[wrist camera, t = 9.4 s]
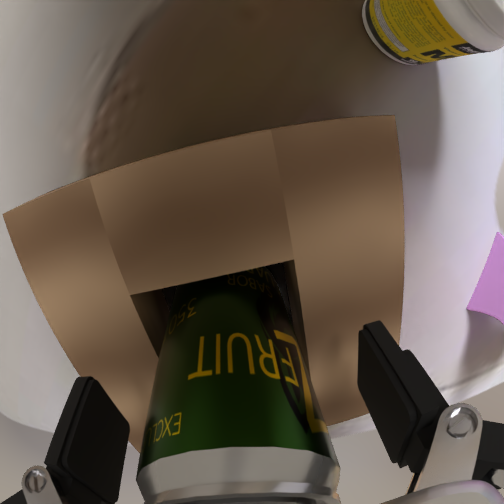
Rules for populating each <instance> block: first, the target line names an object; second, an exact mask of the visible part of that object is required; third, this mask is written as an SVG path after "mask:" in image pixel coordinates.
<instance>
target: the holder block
mask: <svg viewBox="0 0 504 504" xmlns="http://www.w3.org/2000/svg"><path fill="white" fill-rule="evenodd" d="M3 217H4V220H5V223H6V226H7V229H8V232H9V235H10V238H11V240H12V243H13V246H14V248H15V251H16V254H17V256H18V259H19V261H20V264H21V266H22V268H23V271H24V273H25V275H26V278H27V280H28V282H29V284H30V287H31V289H32V291H33V293H34V295H35V297H36V299H37V301H38V304H39V306H40V308H41V310H42V312H43V313H44V315H45V317H46V319H47V321H48V323H49V325H50V327H51V329H52V330H53V332H54V334H55V336H56V338H57V339H58V341H59V343H60V344H61V346H62V348H63V350H64V351H65V353H66V355H67V356H68V358H69V359H70V361H71V363H72V364H73V366H74V367H75V369H76V371H77V372H78V374H79V375H80V377H85V376H92V377H93V378H94V379H95V380H98V381H99V383H100V384H101V386H102V387H103V389H104V390H105V391H106V393H107V394H108V396H109V397H110V398H111V400H112V401H113V403H114V404H115V405H116V407H117V408H118V409H119V411H120V412H121V413H122V415H123V416H124V417H125V418H126V420H127V421H128V423H129V425H130V433H129V438H128V440H129V442H130V443H131V444H132V445H133V446H134V447H135V449H136V450H137V451H138V452H139V453H140V452H141V446H142V440H143V434H144V429H145V423H146V418H147V413H148V408H149V403H150V398H151V393H152V388H153V383H154V379H155V374H156V370H157V365H158V361H159V356H160V352H161V347H162V343H163V339H164V335H165V331H166V327H167V322H168V318H169V314H170V310H169V307H168V305H167V302H166V300H165V297H164V294H163V292H162V288H166V287H171V286H176V285H180V284H185V283H190V282H194V281H199V280H204V279H208V278H213V277H217V276H222V275H227V274H231V273H236V272H240V271H245V270H249V269H254V268H258V267H263V266H267V265H271V264H276V263H280V262H283V266H284V272H285V278H286V283H287V289H288V295H289V301H290V307H291V313H292V319H293V326H294V332H295V335H296V338H297V341H298V344H299V347H300V350H301V352H302V355H303V358H304V361H305V364H306V367H307V370H308V373H309V376H310V379H311V382H312V385H313V388H314V391H315V394H316V397H317V400H318V403H319V406H320V409H321V412H322V415H323V418H324V421H325V424H326V426H330V425H333V424H337V423H340V422H344V421H347V420H350V419H353V418H356V417H359V416H362V415H365V414H368V413H369V411H368V409H367V406H366V404H365V402H364V400H363V398H362V396H361V394H360V391H359V389H358V385H357V373H358V333H359V331H360V330H363V325H365V324H368V323H371V322H374V321H378V320H380V321H381V322H382V323H383V324H384V326H385V327H386V329H387V330H388V331H389V333H390V334H391V335H392V337H393V338H394V340H395V341H396V343H397V344H398V345H399V340H400V330H401V319H402V305H403V287H404V205H403V187H402V174H401V163H400V153H399V144H398V136H397V128H396V121H395V115H380V116H360V117H347V118H338V119H330V120H322V121H314V122H307V123H301V124H294V125H288V126H282V127H276V128H270V129H265V130H259V131H254V132H249V133H244V134H239V135H234V136H230V137H225V138H221V139H216V140H212V141H208V142H203V143H199V144H195V145H191V146H187V147H184V148H180V149H176V150H172V151H169V152H165V153H161V154H158V155H154V156H151V157H148V158H144V159H141V160H138V161H134V162H131V163H128V164H125V165H122V166H119V167H116V168H113V169H110V170H107V171H104V172H101V173H98V174H95V175H93V176H90V177H87V178H84V179H82V180H79V181H76V182H74V183H71V184H68V185H66V186H63V187H61V188H58V189H56V190H53V191H51V192H48V193H46V194H44V195H41V196H39V197H37V198H35V199H33V200H31V201H28V202H26V203H24V204H22V205H20V206H18V207H16V208H14V209H12V210H10V211H8V212H6V213H4V214H3Z"/></svg>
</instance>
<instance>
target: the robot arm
mask: <svg viewBox="0 0 504 504" xmlns="http://www.w3.org/2000/svg"><path fill="white" fill-rule="evenodd" d="M357 385H358V389H359V391H360V394H361V396H362V398H363V400H364V402H365V404H366V406H367V409H368V411H369V413H370V415H371V417H372V419H373V422H374V424H375V426H376V428H377V430H378V433H379V435H380V437H381V439H382V441H383V444H384V446H385V448H386V451H387V453H388V455H389V457H390V460H391V461H392V463H396V462H397V463H398V465H399V467H400V468H402V467H404V466H407V465H408V466H409V468H410V471H411V472H413V476H412V478H411V481H410V484H409V486H408V489H407V491H406V493H405V495H404V496H401V497H398V498H396V499H393V500H390V501H387V502H384V503H381V504H504V498H503V496H502V495H501V494H500V492H499V491H498V490H497V489H501V488H503V489H504V424H502V423H496V422H490V421H484V420H482V417H481V414H480V412H479V411H478V410H477V409H476V408H475V407H473V406H472V405H469V404H465V403H457V404H454V405H451V406H449V405H448V404H447V402H446V401H445V399H444V398H443V396H442V395H441V393H440V392H439V390H438V389H437V387H436V386H435V384H434V383H433V381H432V380H431V378H430V377H429V376H428V374H427V373H426V371H425V370H424V368H423V367H422V366H421V364H420V363H419V361H418V360H417V359H416V357H415V356H414V354H413V353H412V352H411V351H410V350H404V351H402V350H401V348H400V347H399V345H398V344H397V343H396V341H395V340H394V338H393V337H392V335H391V334H390V333H389V331H388V330H387V329H386V327H385V326H384V324H383V323H382V322H381V321H380V320H378V321H374V322H371V323H368V324H365V325H363V330H360V331H359V333H358V373H357ZM129 433H130V425H129V423H128V421H127V420H126V418H125V417H124V416H123V415H122V413H121V412H120V411H119V409H118V408H117V407H116V405H115V404H114V403H113V401H112V400H111V398H110V397H109V396H108V394H107V393H106V391H105V390H104V389H103V387H102V386H101V384H100V383H99V381H98V380H95V379H94V378H93V377H92V376H85V377H78V378H77V379H76V380H75V383H74V385H73V387H72V390H71V392H70V394H69V397H68V399H67V402H66V404H65V407H64V409H63V412H62V414H61V417H60V419H59V422H58V425H57V427H56V430H55V433H54V435H53V438H52V441H51V444H50V447H49V450H48V452H47V456H46V458H45V462H44V463H45V464H46V465H47V467H46V469H45V468H44V467H42V466H33V467H30V468H29V469H28V470H27V471H26V472H25V473H24V475H23V478H22V490H20V491H19V492H17V493H16V494H14V495H13V496H11V497H10V498H8V499H6V500H5V501H3V502H2V503H0V504H115V502H117V500H118V496H119V490H120V484H121V477H122V471H123V465H124V460H125V454H126V449H127V444H128V438H129Z"/></svg>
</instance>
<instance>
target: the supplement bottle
mask: <svg viewBox="0 0 504 504" xmlns="http://www.w3.org/2000/svg"><path fill="white" fill-rule="evenodd" d="M362 18H363V23H364V26H365V29H366V31H367V33H368V35H369V37H370V38H371V40H372V41H373V42H374V44H375V45H376V46H377V47H378V48H379V49H380V50H381V51H382V52H383V53H384V54H386V55H387V56H388V57H390V58H391V59H393V60H395V61H397V62H400V63H403V64H407V65H419V64H424V63H429V62H433V61H438V60H442V59H448V58H453V57H458V56H464V55H470V54H476V53H485V52H491V51H495V50H498V49H500V48H501V47H503V46H504V0H365V2H364V4H363V8H362Z"/></svg>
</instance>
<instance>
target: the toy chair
mask: <svg viewBox="0 0 504 504" xmlns="http://www.w3.org/2000/svg"><path fill="white" fill-rule="evenodd" d="M467 310H472V311H477V312H481V313H485V314H488V315H490V316H493V317H495V318H496V319H498V320H500V321H501V322H502V324H503V325H504V237H503V236H502V234H501V233H499V232H497V234H496V237H495V240H494V243H493V245H492V248H491V251H490V254H489V256H488V259H487V262H486V264H485V267H484V269H483V272H482V274H481V277H480V279H479V281H478V284H477V286H476V288H475V291H474V293H473V295H472V297H471V299H470V302H469V304H468V306H467Z"/></svg>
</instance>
